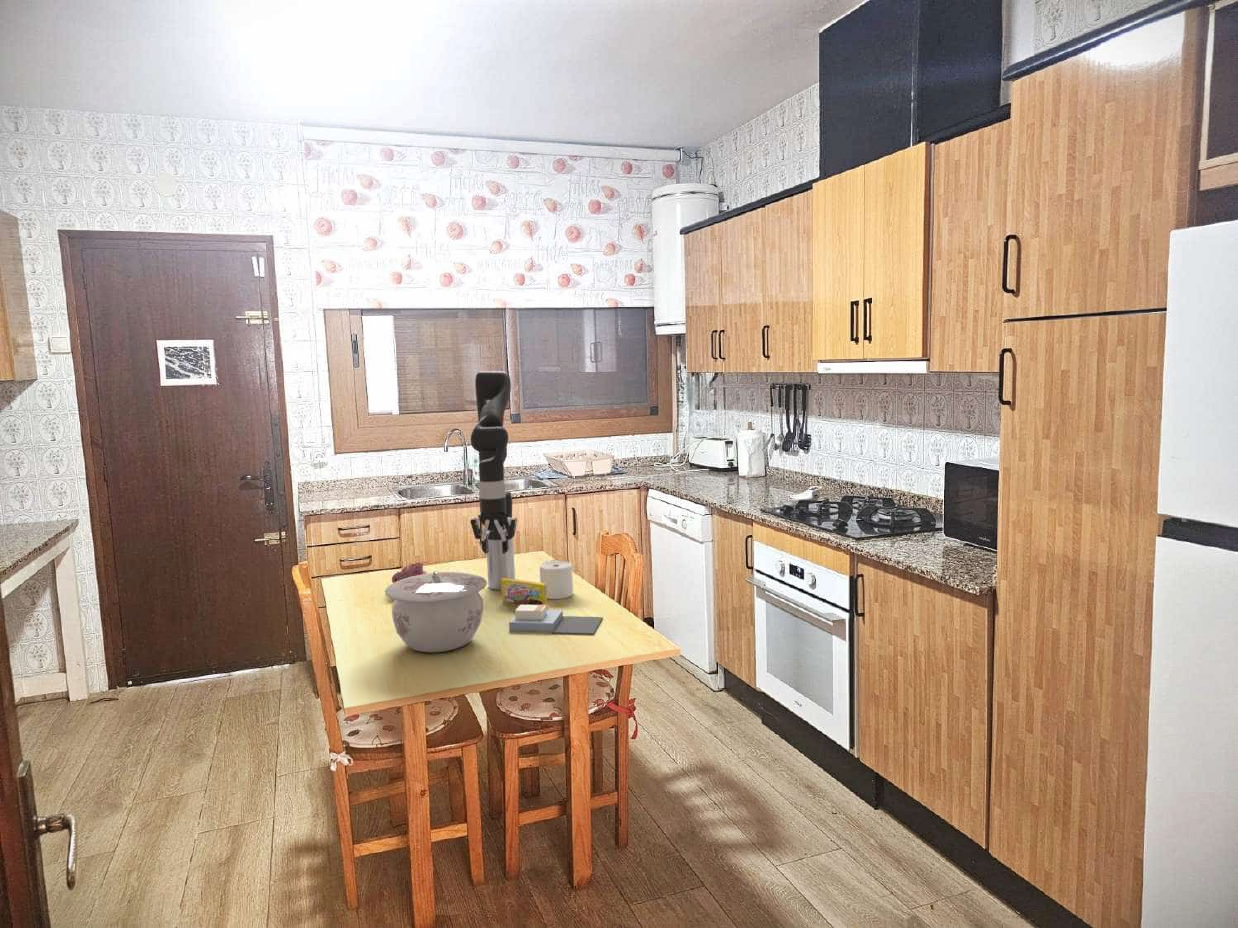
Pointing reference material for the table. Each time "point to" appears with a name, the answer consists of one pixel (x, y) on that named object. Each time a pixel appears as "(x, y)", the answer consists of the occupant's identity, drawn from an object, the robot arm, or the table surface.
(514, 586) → the candy box
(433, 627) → the chamber pot
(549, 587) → the toilet tissue
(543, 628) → the light blue flat block
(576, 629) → the mat
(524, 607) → the striped white eraser
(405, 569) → the flower
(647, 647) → the table surface
